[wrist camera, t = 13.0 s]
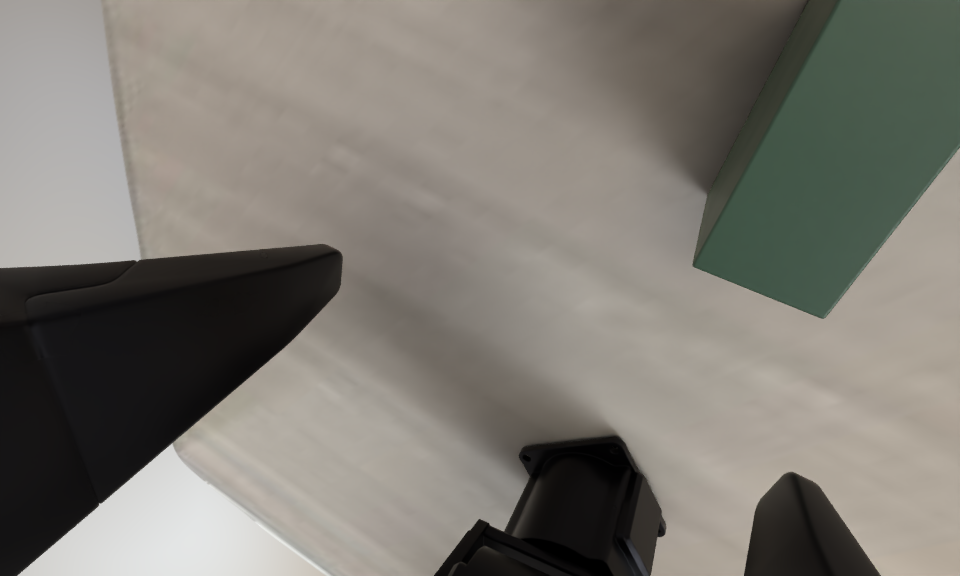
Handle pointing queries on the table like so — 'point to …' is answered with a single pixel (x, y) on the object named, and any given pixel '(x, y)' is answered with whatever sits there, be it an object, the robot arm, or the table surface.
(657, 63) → the table surface
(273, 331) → the robot arm
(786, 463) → the table surface
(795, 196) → the green block
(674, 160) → the table surface
